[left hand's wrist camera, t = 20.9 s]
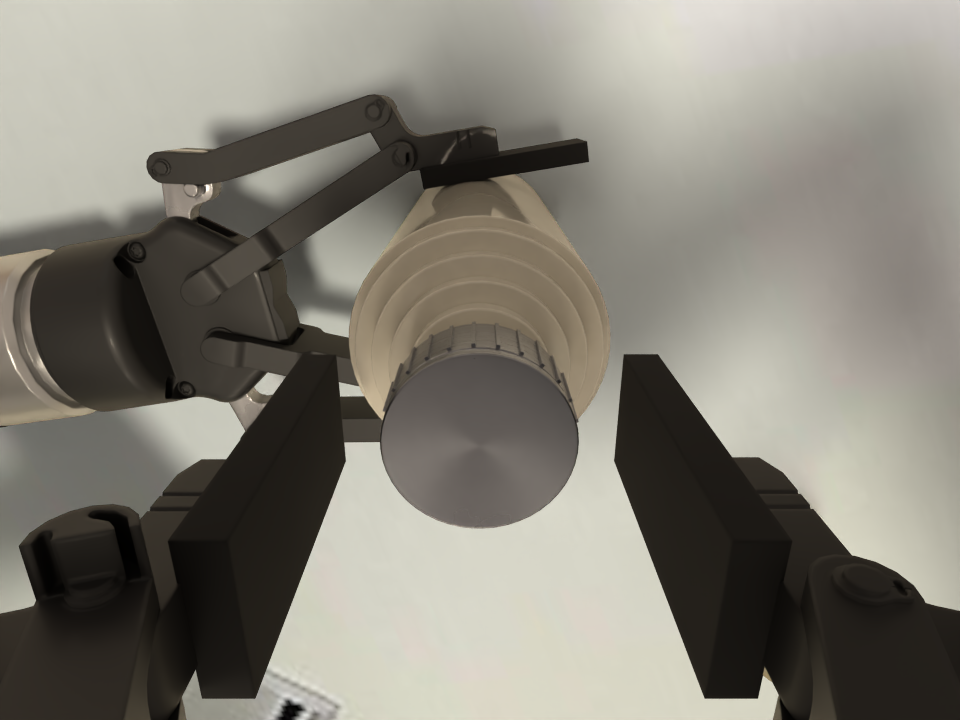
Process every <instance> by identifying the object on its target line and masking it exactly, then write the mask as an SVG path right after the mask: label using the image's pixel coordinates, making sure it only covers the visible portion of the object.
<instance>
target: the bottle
mask: <svg viewBox="0 0 960 720" xmlns="http://www.w3.org/2000/svg"><path fill="white" fill-rule="evenodd" d="M472 322H476V324H492V325H495V323H499V326H503V327H506V328H510V329H513V330H515V331H516V330H517V329H518V330H520V331H521V333H522V334H524V335H526V336H527V337H529V338H531V339H532V340H534V341H536V340H537V341H539V343H540V346H541V347H542V348H543V349H544V350H545V351H546V352H547V353H548V354H549V355H550V356H551V355H553V356H554V358H555V361H556V364H557V367H558V368H559V370H560V372H561V373H564V375H565V378H566V381H567V384H568V387H569V390H570V393H571V397H572V400H573V405H574V408H575V411H576V414H577V417H578V418H579V417H580V416H581V415H582V414H583V412H584V411H585V410H586V409H587V407H588V406H589V404H590V403H591V401H592V400H593V398H594V397H595V395H596V393H597V391H598V389H599V387H600V385H601V382H602V380H603V377H604V374H605V371H606V368H607V363H608V357H609V352H610V326H609V318H608V314H607V310H606V306H605V302H604V299H603V297H602V294H601V292H600V289H599V287H598V285H597V283H596V282H595V280H594V278H593V277H592V275H591V273H590V272H589V270H588V269H587V267H586V266H585V264H584V263H583V261H582V260H581V258H580V257H579V255H578V254H577V252H576V251H575V249H574V248H573V246H572V245H571V243H570V242H569V240H568V239H567V237H566V236H565V234H564V233H563V231H562V230H561V228H560V227H559V225H558V224H557V222H556V221H555V219H554V218H553V216H552V215H551V213H550V212H549V210H548V209H547V208H546V206H545V205H544V203H543V202H542V200H541V199H540V197H539V196H538V194H537V193H536V192H535V191H534V189H533V188H532V187H531V186H530V185H529V184H528V183H527V182H525V181H524V180H523V179H521V178H520V177H519V176H517V175H515V174H513V175H507V176H501V177H495V178H489V179H483V180H477V181H471V182H465V183H459V184H453V185H447V186H441V187H435V188H429V189H426V190H425V191H424V192H423V194H422V195H421V196H420V198H419V199H418V201H417V202H416V204H415V205H414V207H413V208H412V210H411V211H410V213H409V214H408V216H407V217H406V219H405V220H404V222H403V223H402V225H401V226H400V228H399V229H398V230H397V232H396V233H395V235H394V236H393V238H392V239H391V241H390V242H389V244H388V245H387V247H386V248H385V250H384V251H383V253H382V254H381V256H380V257H379V259H378V260H377V262H376V263H375V265H374V266H373V268H372V269H371V271H370V272H369V274H368V275H367V277H366V278H365V280H364V281H363V284H362V286H361V288H360V290H359V292H358V294H357V296H356V300H355V303H354V306H353V309H352V313H351V320H350V326H349V349H350V357H351V363H352V366H353V370H354V374H355V377H356V379H357V382H358V384H359V386H360V389H361V391H362V393H363V394H364V396H365V398H366V400H367V401H368V403H369V404H370V406H371V407H372V408H373V410H374V411H375V412H376V414H377V415H378V416H379V417H380V418H381V419H382V420H383V418H384V414H385V412H383V408H384V405H385V401H386V398H387V395H388V392H389V389H390V386H391V383H392V381H393V382H394V380H395V377H396V373H397V370H398V367H399V365H400V363H402V364H403V363H404V361H405V360H406V359H407V358H408V356H409V355H410V354H411V350H412V348H413V347H415V348H417V347H418V346H419V345H420V344H421V343H423V342H424V341H425V340H427V339H428V338H429V335H430V334H433V335H435V334H437V333H439V332H441V331H444V330H447V329H449V327H450V326H452V325H453V326H454V327H456V326H461V325H467V324H472Z"/></svg>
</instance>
